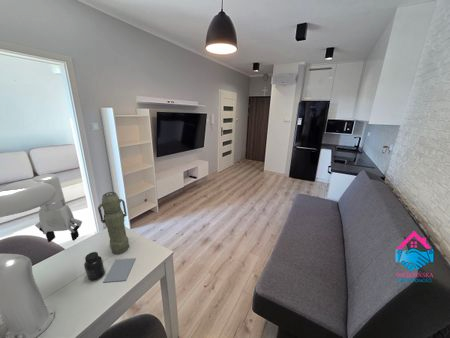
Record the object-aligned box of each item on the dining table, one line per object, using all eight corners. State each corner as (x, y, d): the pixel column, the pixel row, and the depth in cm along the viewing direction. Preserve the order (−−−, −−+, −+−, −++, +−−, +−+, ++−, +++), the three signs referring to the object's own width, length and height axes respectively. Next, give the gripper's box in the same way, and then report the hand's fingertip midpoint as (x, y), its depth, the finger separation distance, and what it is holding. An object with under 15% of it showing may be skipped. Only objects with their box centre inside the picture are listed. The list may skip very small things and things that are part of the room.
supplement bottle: (108, 272, 89) (103, 253, 85) (93, 284, 83) (87, 263, 79) (99, 267, 91) (94, 248, 88) (84, 278, 86) (78, 258, 82)
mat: (126, 280, 85) (125, 280, 85) (103, 282, 84) (102, 282, 83) (135, 258, 97) (135, 258, 97) (115, 260, 96) (115, 259, 96)
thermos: (106, 249, 102) (93, 194, 91) (129, 240, 110) (119, 187, 99) (110, 259, 96) (97, 201, 85) (134, 247, 104) (124, 193, 93)
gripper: (20, 209, 69) (34, 246, 74) (70, 208, 71) (80, 243, 76) (37, 200, 76) (48, 234, 81) (82, 199, 78) (90, 232, 83)
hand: (63, 239), depth 79 cm, fingers open, 9 cm apart
